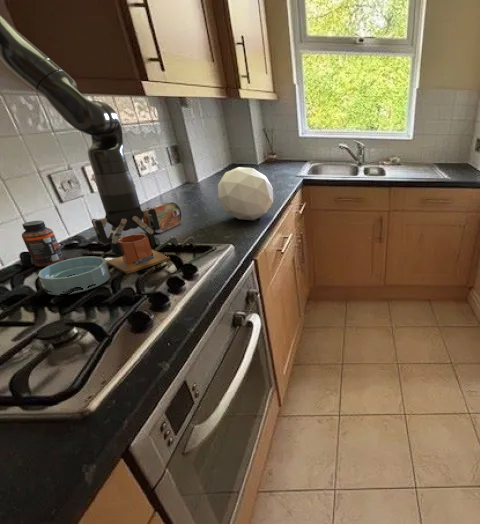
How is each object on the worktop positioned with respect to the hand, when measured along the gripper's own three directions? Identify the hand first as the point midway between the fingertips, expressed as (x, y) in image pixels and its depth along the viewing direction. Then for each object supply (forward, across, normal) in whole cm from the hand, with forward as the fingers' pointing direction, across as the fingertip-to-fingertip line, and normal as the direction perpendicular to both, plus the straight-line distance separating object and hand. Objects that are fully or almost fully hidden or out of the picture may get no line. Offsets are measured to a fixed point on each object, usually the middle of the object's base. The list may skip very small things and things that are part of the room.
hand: (136, 250), depth 89 cm
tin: (+3, -18, -21) cm, 28 cm away
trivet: (+3, 0, 0) cm, 3 cm away
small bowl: (+2, 0, 0) cm, 2 cm away
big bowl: (+3, +14, +2) cm, 14 cm away
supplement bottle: (+3, +14, -18) cm, 23 cm away
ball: (+3, -43, -8) cm, 44 cm away
